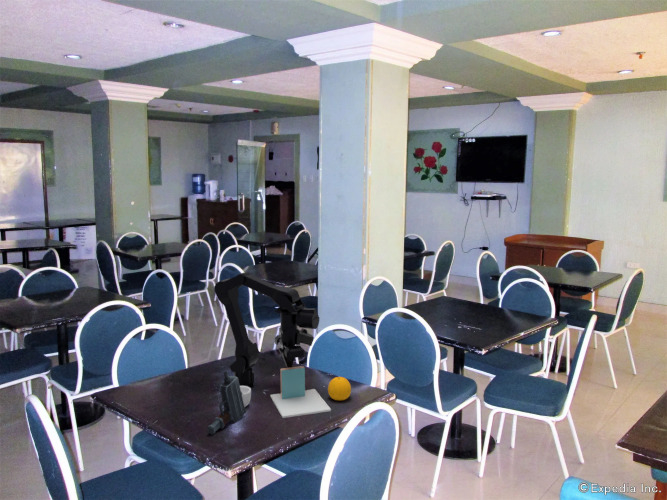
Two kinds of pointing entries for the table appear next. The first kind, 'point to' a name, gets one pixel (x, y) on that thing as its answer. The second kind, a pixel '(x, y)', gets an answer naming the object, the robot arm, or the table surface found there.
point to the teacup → (246, 394)
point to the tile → (292, 382)
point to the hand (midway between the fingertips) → (289, 369)
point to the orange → (339, 388)
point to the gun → (228, 403)
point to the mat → (300, 404)
